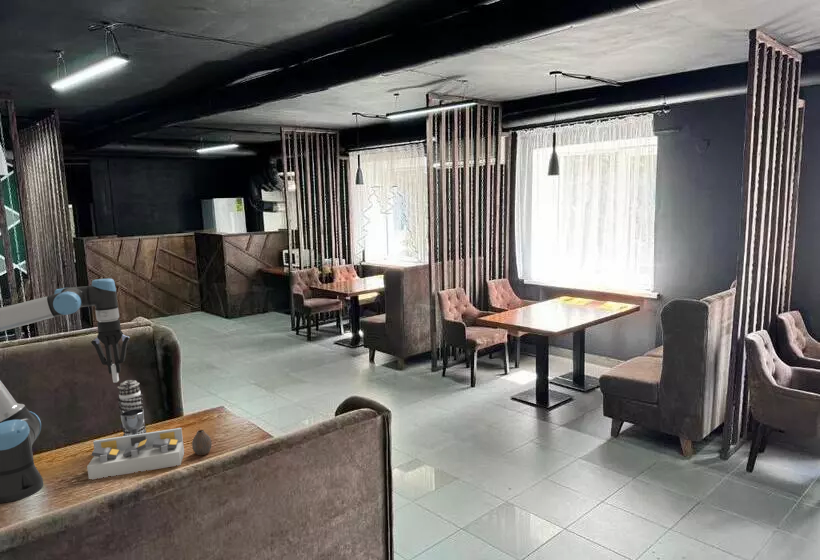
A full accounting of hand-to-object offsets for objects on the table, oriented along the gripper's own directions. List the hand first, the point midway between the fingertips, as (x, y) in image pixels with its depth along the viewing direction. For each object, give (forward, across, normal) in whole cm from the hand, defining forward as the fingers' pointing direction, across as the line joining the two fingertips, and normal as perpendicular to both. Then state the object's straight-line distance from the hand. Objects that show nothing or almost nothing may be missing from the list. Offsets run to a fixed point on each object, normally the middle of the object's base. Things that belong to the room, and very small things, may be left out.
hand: (116, 381), depth 211 cm
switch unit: (+29, +7, -13) cm, 33 cm away
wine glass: (+30, +3, +5) cm, 30 cm away
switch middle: (+22, +7, -13) cm, 27 cm away
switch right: (+22, +17, -13) cm, 31 cm away
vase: (+30, +29, -10) cm, 43 cm away
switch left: (+22, -3, -13) cm, 26 cm away
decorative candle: (+30, +1, +14) cm, 33 cm away
